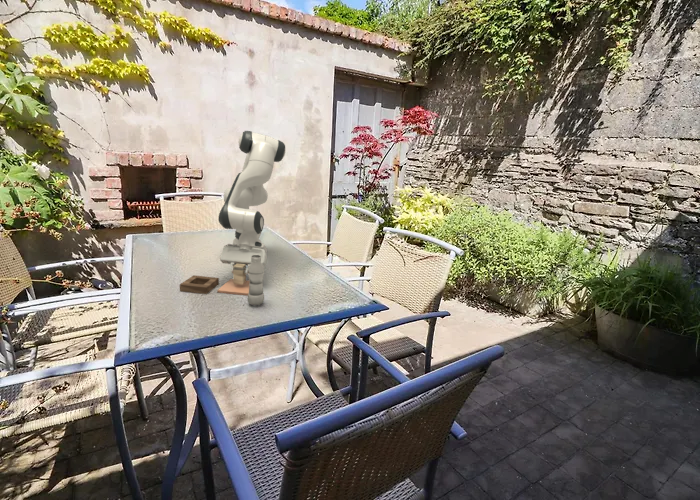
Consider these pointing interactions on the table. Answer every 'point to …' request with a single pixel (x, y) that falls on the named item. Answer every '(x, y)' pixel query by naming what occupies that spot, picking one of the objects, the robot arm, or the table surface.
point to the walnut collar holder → (199, 284)
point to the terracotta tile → (234, 288)
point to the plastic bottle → (255, 281)
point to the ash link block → (239, 274)
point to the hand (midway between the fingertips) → (239, 273)
